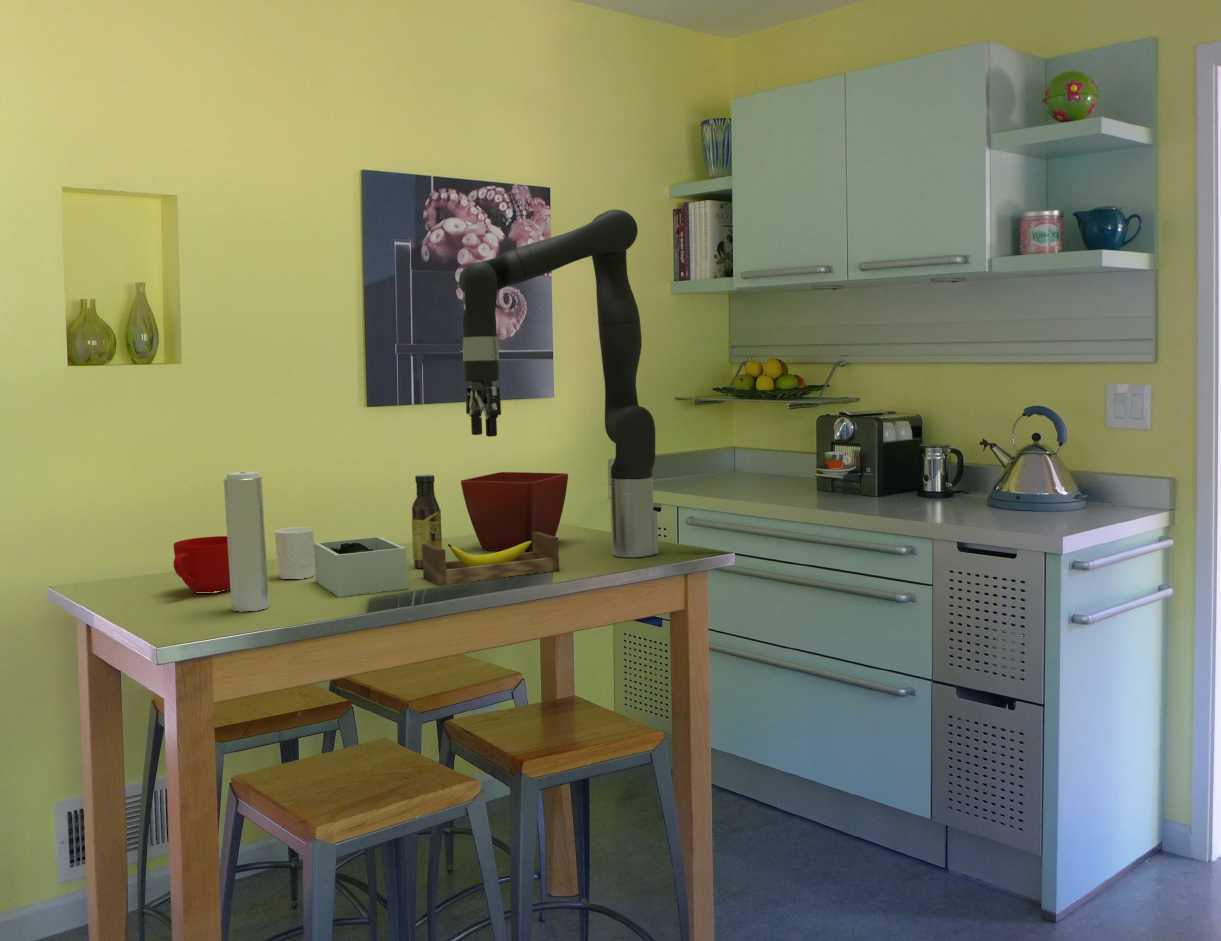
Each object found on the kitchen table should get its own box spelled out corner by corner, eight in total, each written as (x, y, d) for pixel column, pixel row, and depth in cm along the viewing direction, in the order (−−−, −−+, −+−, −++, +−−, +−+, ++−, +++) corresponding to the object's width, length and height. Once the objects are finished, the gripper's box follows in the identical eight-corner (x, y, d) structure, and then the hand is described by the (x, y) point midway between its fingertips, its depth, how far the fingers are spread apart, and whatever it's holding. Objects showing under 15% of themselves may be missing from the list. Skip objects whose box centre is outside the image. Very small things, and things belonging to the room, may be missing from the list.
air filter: (236, 605, 208) (228, 471, 206) (272, 604, 209) (264, 470, 206) (228, 613, 202) (219, 474, 199) (264, 611, 202) (256, 473, 200)
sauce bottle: (436, 569, 239) (432, 476, 238) (409, 569, 241) (404, 476, 239) (447, 563, 246) (443, 473, 244) (420, 563, 247) (416, 473, 245)
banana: (535, 564, 236) (534, 534, 235) (452, 576, 226) (451, 545, 225) (529, 563, 238) (528, 533, 237) (446, 574, 228) (445, 543, 227)
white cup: (324, 574, 237) (321, 527, 236) (299, 581, 230) (296, 533, 229) (294, 572, 241) (292, 526, 240) (269, 579, 233) (266, 532, 233)
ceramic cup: (149, 601, 215) (145, 549, 214) (203, 583, 231) (200, 535, 230) (207, 602, 212) (204, 550, 211) (258, 585, 228) (255, 536, 227)
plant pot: (533, 555, 253) (530, 481, 251) (461, 552, 261) (458, 480, 260) (572, 542, 270) (570, 472, 269) (503, 539, 278) (501, 471, 277)
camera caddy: (381, 574, 236) (379, 536, 235) (407, 588, 219) (405, 548, 219) (315, 581, 230) (313, 542, 229) (338, 597, 213) (336, 555, 212)
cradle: (539, 563, 242) (538, 531, 242) (559, 570, 233) (558, 537, 233) (423, 577, 230) (421, 543, 230) (439, 585, 222) (437, 550, 221)
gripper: (510, 357, 232) (513, 436, 234) (485, 359, 245) (488, 433, 247) (476, 358, 229) (479, 438, 231) (452, 359, 242) (455, 435, 243)
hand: (484, 435), depth 239 cm, fingers open, 8 cm apart
